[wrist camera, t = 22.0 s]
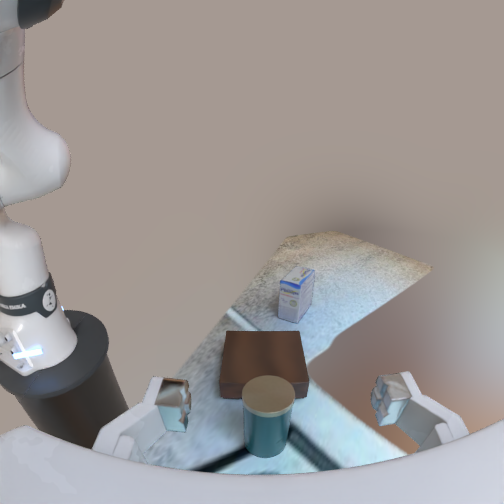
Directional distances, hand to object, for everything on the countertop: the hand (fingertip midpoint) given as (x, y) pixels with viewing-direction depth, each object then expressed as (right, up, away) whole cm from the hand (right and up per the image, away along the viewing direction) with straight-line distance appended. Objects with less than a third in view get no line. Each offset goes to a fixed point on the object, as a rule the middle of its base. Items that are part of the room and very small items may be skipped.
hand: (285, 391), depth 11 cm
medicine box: (+8, -7, +49) cm, 50 cm away
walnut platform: (0, -13, +32) cm, 34 cm away
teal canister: (0, -18, +20) cm, 27 cm away
